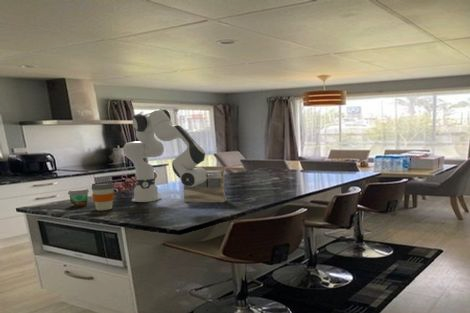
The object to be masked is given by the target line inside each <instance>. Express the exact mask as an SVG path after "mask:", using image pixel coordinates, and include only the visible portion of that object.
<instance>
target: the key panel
mask: <svg viewBox="0 0 470 313" xmlns="http://www.w3.org/2000/svg"><path fill="white" fill-rule="evenodd" d="M198 167H201V168H204V169H205V170H206V171H217V170H218V171H221V177H219V178H220V185H221V187H219V188H210V187H209V179H211V178H208V187H197V185H196V187H185V185H184V184H183V197H184V199H183V200H184V202H186V203H191V202H193V203H225V202H226V201H227V196H226V189H225V187H226V186H225V184H226V183H225V166H224V165H214V166H213V165H210V166H209V165H208V166H207V165H205V166H204V165H203V166H202V165H201V166H198V165H196V166H195V167H194V168H198Z"/></svg>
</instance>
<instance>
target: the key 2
mask: <svg viewBox="0 0 470 313" xmlns="http://www.w3.org/2000/svg"><path fill="white" fill-rule="evenodd" d="M209 187H210V188H219V187H221V185H220V178H211V179H209Z"/></svg>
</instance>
